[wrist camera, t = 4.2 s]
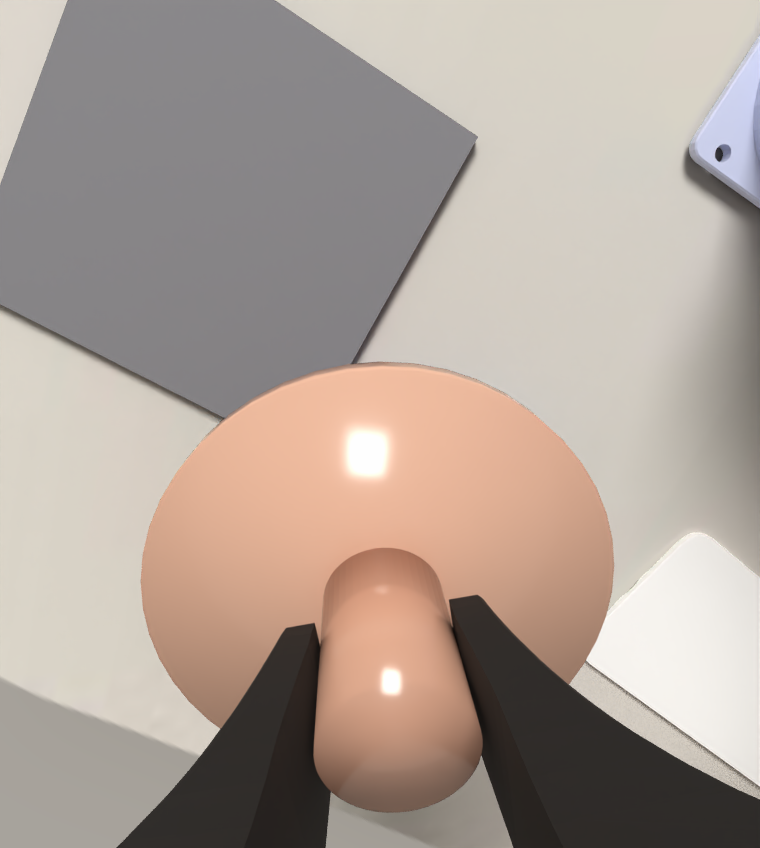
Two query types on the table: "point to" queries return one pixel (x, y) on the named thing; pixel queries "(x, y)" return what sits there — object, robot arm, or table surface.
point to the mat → (216, 193)
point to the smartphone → (692, 647)
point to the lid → (375, 562)
